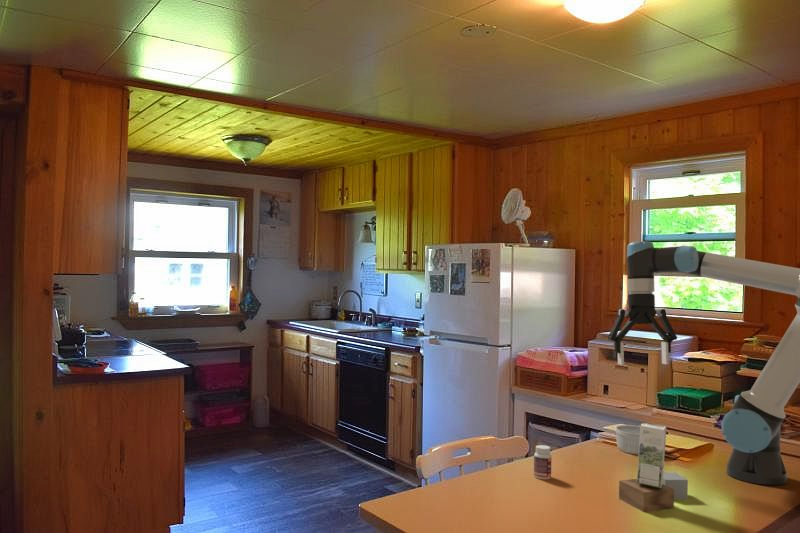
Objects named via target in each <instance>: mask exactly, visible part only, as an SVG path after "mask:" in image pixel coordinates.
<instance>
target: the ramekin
mask: <svg viewBox="0 0 800 533" xmlns="http://www.w3.org/2000/svg"><path fill="white" fill-rule="evenodd" d="M640 427H641V425H631V424H623V425H622V424H621V425H617V426H615V430H614V431H615V436H616V438H615V440H616V446H617V448H618V449H619V451H621V452H623V453H627V454H628V455H629V454H631V455H635V454H636V455H637V456H639V442H640Z"/></svg>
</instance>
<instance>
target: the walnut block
mask: <svg viewBox="0 0 800 533" xmlns="http://www.w3.org/2000/svg"><path fill="white" fill-rule="evenodd" d="M618 481H619V483H618V490H619V491H618V500H620V501H622V502H624V503H626V504H628V505H629V504H630V505H629V506H632V507H634V508H635V509H637V510H639V511H641V512H642V513H645V512H655V511H665V510H672V509H674V508H675V506H674V505H675V499H674V489H672V488H670V487H668V486H665V485H663V484H662V486H661V488H657V487H651V486H647V485H642V484H637V478H631V479H623V480H622V479H620V480H618Z"/></svg>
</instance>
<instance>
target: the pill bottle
mask: <svg viewBox="0 0 800 533" xmlns="http://www.w3.org/2000/svg"><path fill="white" fill-rule="evenodd" d="M552 460H553V459H552V454H551V446H548V445H545V444H544V445H542V444H540V445H535V452H534V455H533V477H534V478H536V479H538V480H549V479H551V478H552Z"/></svg>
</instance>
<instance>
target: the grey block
mask: <svg viewBox="0 0 800 533" xmlns="http://www.w3.org/2000/svg"><path fill="white" fill-rule="evenodd" d="M688 480H689V479H687V478H686V477H683V475H680V474H679V473H677V472H672V471H671V472H668V471H667V472H664V471H663V485H665V486H668V487H670V488H672V489H674V500H688V491H689V490H688V488H689V486H688V483H689V481H688Z"/></svg>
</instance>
